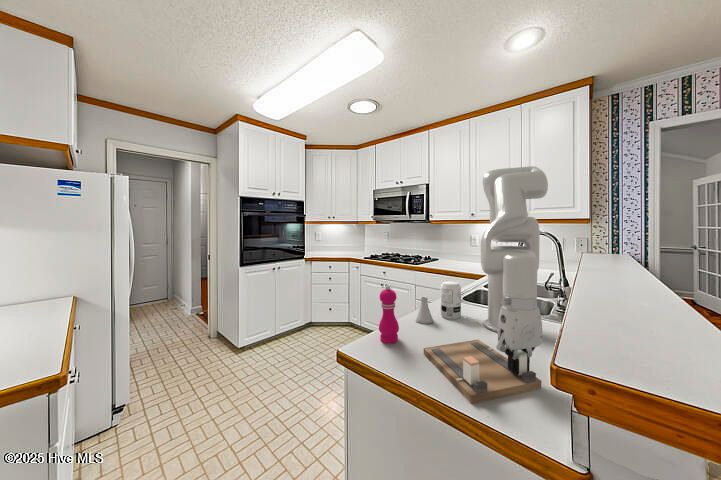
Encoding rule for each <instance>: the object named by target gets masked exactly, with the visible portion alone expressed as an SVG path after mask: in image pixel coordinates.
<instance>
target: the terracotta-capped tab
mask: <svg viewBox="0 0 721 480" xmlns="http://www.w3.org/2000/svg"><path fill="white" fill-rule="evenodd" d="M463 378H464V379H465V380H466V381H467V382H468V383H469V384H470V385H473V383H474V382H479V361H477V360H476V359H475V358H473V357H472V356H469V357H463Z"/></svg>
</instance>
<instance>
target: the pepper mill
mask: <svg viewBox="0 0 721 480" xmlns="http://www.w3.org/2000/svg"><path fill="white" fill-rule="evenodd" d="M384 288H385V289H382V290H381V291H380V293H379V300H380V302H381V304H380V305H381V306H380V307H381V308H382V315H381V319H380V320H379V324H378V331H379V332H380V335H379V336H380V341H381V343H383V344H388V345H389V344H395V343H397V342H398V340H399V335H398V332H399V330H400V327H399V323H398V320H397V319H396V318H397V317H396V316H395V308H396V301H397V294H396V292H395V291H394V290H393V289H391V286H390V285H389V284H386V285H385V287H384Z"/></svg>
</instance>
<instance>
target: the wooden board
mask: <svg viewBox="0 0 721 480" xmlns="http://www.w3.org/2000/svg"><path fill="white" fill-rule="evenodd" d="M423 355H424V356H425V357H426V359H428V361H429V362H431V364H432V365H433V366H434V367H435V368H436V369H437V370H438V371H439V372H440V373H442V375H443V376H444V377H445V378H446V379H447V380H448V381H449V382H450V383H451V384H452V385H453V386H454V388H455V389H456V390H457V391H458V392H459V393H460V394H461V395H462V396H463V397H464V398H465V399H466V400H467V401H468V402H469V403H470V404H475V403H481V402H486V401H490V400H493V399H494V400H495V399H500V398H503V397H508V396H512V395H516V394H517V395H518V394H521V393H526V392H531V391H536V390H540V389H542V380H541V379H540V378H538V376H537V373H536V372H534V371H533V370H529V372H524V373H522V375H516V374H515V373H513V372H512V371H510V370H509V369H508V357H507V356H504V355H503V354H502V353H499V352H498V351H496V350H495V349H494V348H493V347H491V346H489V345H487V344H486V343H484V342H483V341H481V340H480V339H473V340H466V341H461V342H460V341H459V342H453V343H447V344H441V345H434V346H429V347H428V346H427V347H423ZM469 356H472V357H473V358H475V359H476V360H477V361H479V382H474V383H473V385H470V384H469V383H468V382H467V381H466V380H465V379H464V378H463V357H469Z"/></svg>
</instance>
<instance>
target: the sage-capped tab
mask: <svg viewBox="0 0 721 480" xmlns="http://www.w3.org/2000/svg"><path fill="white" fill-rule="evenodd" d="M511 351H512V350H511ZM517 359H518V360H519V374H518V375H522V373H524V372H527V353H525V352H523V351H522V350H518V355H517Z"/></svg>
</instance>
